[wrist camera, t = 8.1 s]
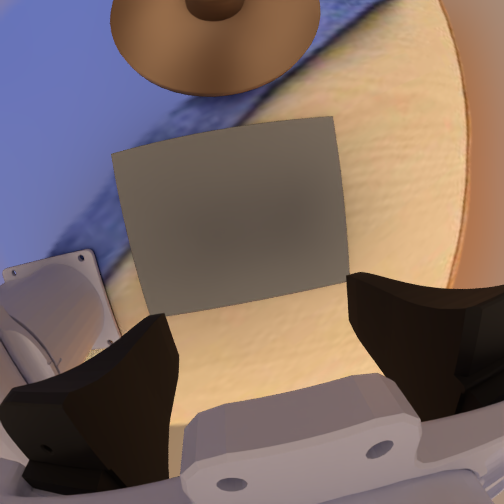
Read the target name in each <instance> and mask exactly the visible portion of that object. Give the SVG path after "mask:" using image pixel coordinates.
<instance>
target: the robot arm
mask: <svg viewBox="0 0 504 504" xmlns="http://www.w3.org/2000/svg"><path fill="white" fill-rule="evenodd" d="M80 255H83V256H84V260H82V259H81V258H80ZM14 271H15V272H16V274H15V273H14ZM3 278H4V281H5V283H4V284H2V285H1V286H0V504H494V503H493V501H492V499H493V498H494V497H496V496H497V495H498V494H500V493H501V492H502V491H503V490H504V285H500V286H495V287H489V288H477V289H443V288H434V287H426V286H419V285H415V284H410V283H405V282H401V281H397V280H393V279H389V278H385V277H382V276H378V275H374V274H370V273H365V272H358V273H354V274H350V275H346V282H347V297H348V313H349V322H350V324H351V326H352V328H353V330H354V332H355V334H356V335H357V337H358V339H359V340H360V342H361V343H362V345H363V346H364V347H365V349H366V350H367V352H368V353H369V354H370V356H371V357H372V358H373V360H374V361H375V362H376V364H377V365H378V367H379V368H380V369H381V371H382V372H383V374H384V375H385V376H383V375H381V374H379V373H372V374H362V375H351V376H348V377H345V378H341V379H338V380H334V381H330V382H327V383H323V384H319V385H315V386H311V387H307V388H303V389H299V390H295V391H290V392H286V393H281V394H276V395H272V396H267V397H262V398H256V399H251V400H245V401H240V402H234V403H227V404H223V405H220V406H217V407H215V408H212V409H209V410H206V411H203V412H200V413H198V414H197V415H196V416H195V417H194V418H193V419H192V421H191V422H190V423H189V424H188V425H187V426H186V427H185V429H184V439H183V449H182V450H183V451H182V460H181V472H180V476H178V477H174V478H171V479H169V470H168V442H169V424H170V417H171V412H172V407H173V401H174V396H175V391H176V386H177V381H178V373H179V354H178V351H177V348H176V345H175V343H174V340H173V337H172V334H171V331H170V328H169V325H168V322H167V320H166V317H165V313H160V314H154V315H149V316H148V317H146V318H144V319H143V320H142V321H140V322H139V323H138V324H137V325H135V326H134V327H133V328H132V329H130V330H129V331H128V332H127V333H126V334H124V335H123V336H122V337H121V335H120V332H119V329H118V327H117V324H116V321H115V318H114V316H113V313H112V310H111V307H110V304H109V301H108V298H107V295H106V292H105V289H104V286H103V282H102V279H101V276H100V273H99V269H98V266H97V262H96V259H95V255H94V253H93V251H92V250H90V249H84V250H80V251H75V252H71V253H67V254H62V255H58V256H54V257H50V258H46V259H41V260H37V261H33V262H29V263H26V264H22V265H18V266H13V267H9V268H6V269H5V270H3ZM109 340H111V341H112V342H113V343H111V342H109ZM103 348H106V349H105V350H103V351H102V352H100V353H99V354H97V355H96V356H94V357H92V358H91V359H89V360H87V361H86V362H84V361H85V359H86V357H87V356H88V354H89V352H90V350H93V349H103Z"/></svg>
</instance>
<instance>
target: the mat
mask: <svg viewBox="0 0 504 504" xmlns="http://www.w3.org/2000/svg"><path fill="white" fill-rule="evenodd" d="M111 156H112V162H113V168H114V173H115V179H116V184H117V189H118V194H119V199H120V204H121V208H122V213H123V218H124V222H125V226H126V231H127V235H128V239H129V243H130V247H131V251H132V255H133V259H134V262H135V266H136V270H137V273H138V277H139V280H140V284H141V287H142V291H143V294H144V298H145V301H146V304H147V307H148V311H149V314H150V315H154V314H160V313H165V317H166V316H172V315H179V314H185V313H191V312H197V311H203V310H208V309H214V308H220V307H225V306H231V305H236V304H242V303H247V302H252V301H257V300H263V299H268V298H273V297H278V296H283V295H288V294H293V293H297V292H302V291H307V290H312V289H316V288H321V287H325V286H330V285H335V284H339V283H343V282H346V275H350V272H349V255H348V240H347V228H346V216H345V206H344V196H343V187H342V178H341V170H340V162H339V155H338V148H337V141H336V134H335V128H334V121H333V116H331V117H317V118H305V119H294V120H285V121H276V122H267V123H260V124H252V125H245V126H239V127H232V128H226V129H220V130H214V131H209V132H203V133H198V134H193V135H188V136H183V137H178V138H173V139H169V140H164V141H160V142H155V143H151V144H147V145H143V146H139V147H135V148H131V149H127V150H123V151H120V152H116V153H113V154H111Z"/></svg>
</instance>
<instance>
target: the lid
mask: <svg viewBox="0 0 504 504" xmlns="http://www.w3.org/2000/svg"><path fill="white" fill-rule="evenodd" d="M319 21H320V2H319V0H113V4H112V8H111V15H110V25H111V32H112V36H113V39H114V42H115V45H116V46H117V48H118V50H119V52H120V54H121V55H122V56H123V57H124V58H125V60H126V61H127V62H128V63H129V64H130V66H131V67H132V68H133V69H134V70H135V71H137V72H138V73H139V74H140V75H141V76H142V77H144V78H145V79H147V80H148V81H150V82H151V83H154V84H156V85H158V86H160V87H161V88H164V89H167V90H170V91H173V92H176V93H181V94H185V95H192V96H201V97H217V96H227V95H233V94H238V93H243V92H246V91H250V90H253V89H256V88H259V87H261V86H263V85H265V84H267V83H270V82H271V81H273V80H275V79H276V78H278V77H280V76H281V75H283V74H284V73H285V72H286V71H288V70H289V69H290V68H291V67H292V66H293V65H294V64H295V63H296V62H297V61H298V60H299V59H300V58H301V57H302V56H303V54H304V53H305V52H306V50H307V49H308V48H309V46H310V45H311V43H312V41H313V39H314V37H315V35H316V32H317V29H318V26H319Z"/></svg>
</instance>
